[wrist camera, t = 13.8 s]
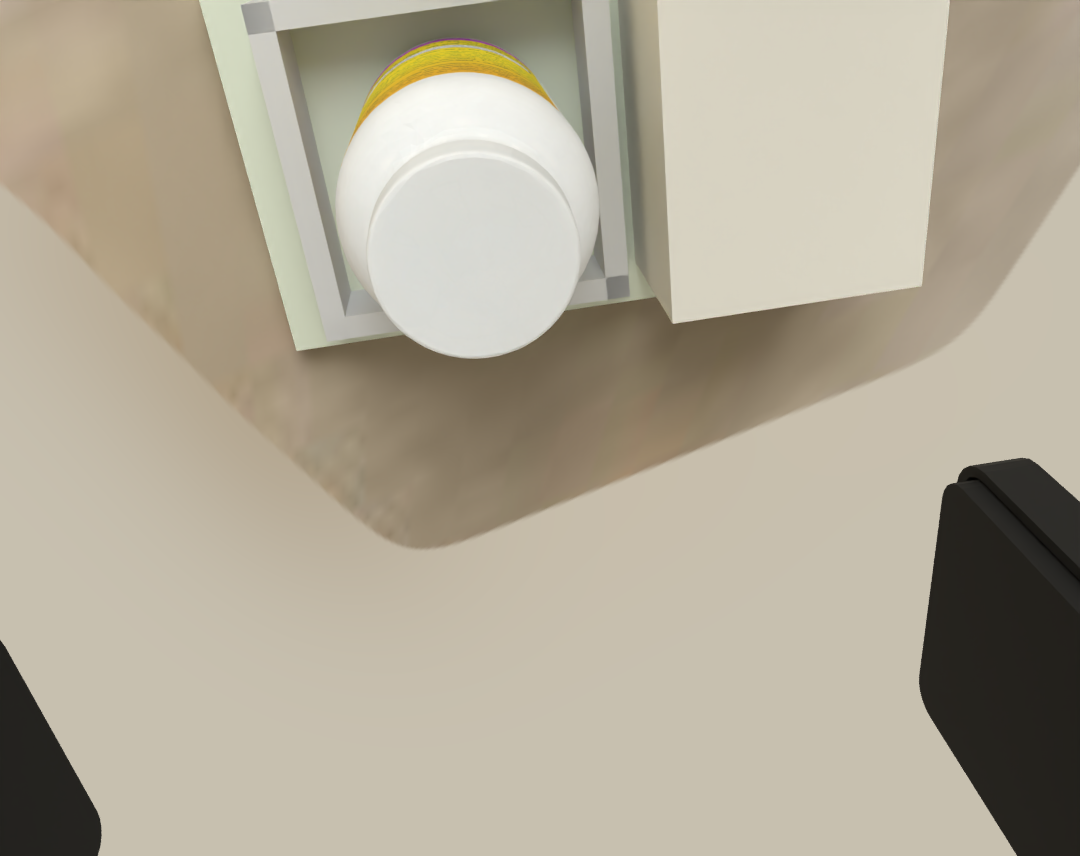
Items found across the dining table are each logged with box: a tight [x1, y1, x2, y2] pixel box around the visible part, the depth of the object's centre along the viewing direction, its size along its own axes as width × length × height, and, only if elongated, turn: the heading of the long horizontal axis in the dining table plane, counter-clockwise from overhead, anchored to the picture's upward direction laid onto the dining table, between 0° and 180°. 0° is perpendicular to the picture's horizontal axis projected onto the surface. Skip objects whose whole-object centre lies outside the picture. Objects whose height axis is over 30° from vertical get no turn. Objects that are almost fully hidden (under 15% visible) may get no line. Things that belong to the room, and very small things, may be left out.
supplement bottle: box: [335, 37, 600, 359], centre depth 25 cm, size 7×7×13 cm
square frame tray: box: [199, 0, 950, 351], centre depth 29 cm, size 22×13×8 cm, turn 97°
